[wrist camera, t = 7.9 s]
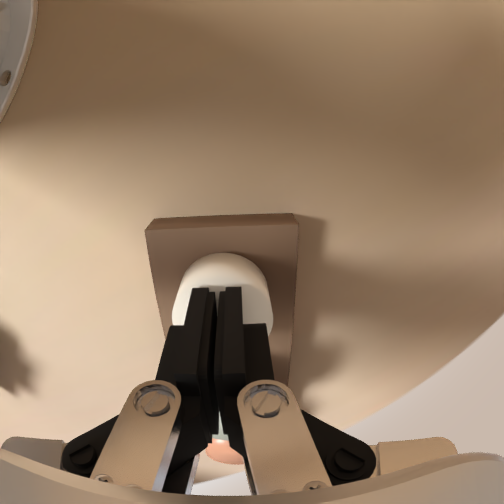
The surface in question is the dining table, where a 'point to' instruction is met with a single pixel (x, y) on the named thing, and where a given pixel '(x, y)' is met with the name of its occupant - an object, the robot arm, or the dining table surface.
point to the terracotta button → (223, 452)
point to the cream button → (227, 275)
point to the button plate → (236, 242)
